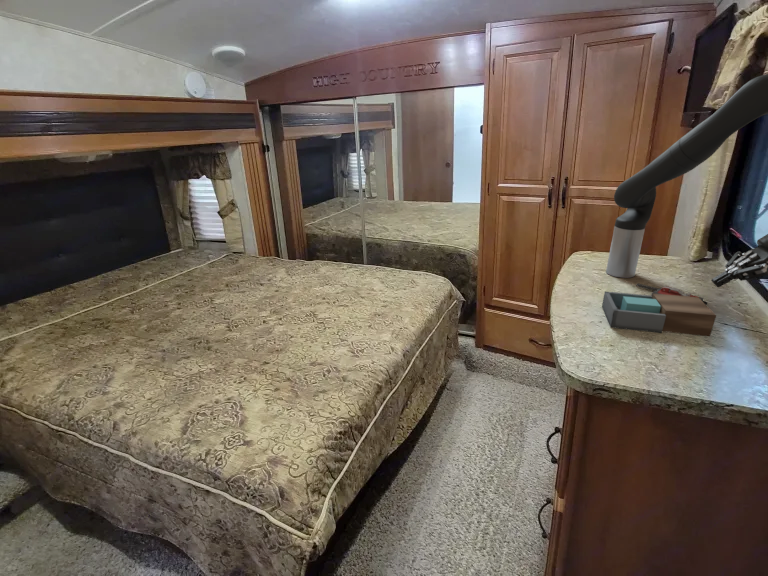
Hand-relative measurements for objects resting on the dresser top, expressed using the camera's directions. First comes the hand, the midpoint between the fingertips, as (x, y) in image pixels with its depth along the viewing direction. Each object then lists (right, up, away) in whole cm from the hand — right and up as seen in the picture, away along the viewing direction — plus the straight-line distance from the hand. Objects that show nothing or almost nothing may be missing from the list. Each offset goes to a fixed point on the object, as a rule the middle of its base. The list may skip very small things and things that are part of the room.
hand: (714, 283), depth 105 cm
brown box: (-5, -11, +6) cm, 14 cm away
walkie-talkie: (+3, -5, +22) cm, 23 cm away
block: (-11, -7, +6) cm, 15 cm away
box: (-16, -10, +10) cm, 21 cm away
